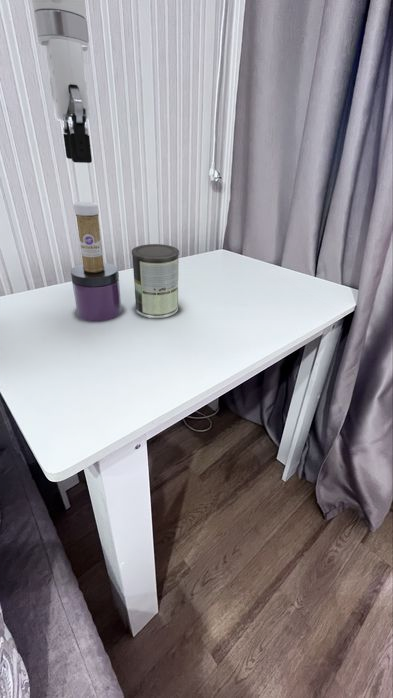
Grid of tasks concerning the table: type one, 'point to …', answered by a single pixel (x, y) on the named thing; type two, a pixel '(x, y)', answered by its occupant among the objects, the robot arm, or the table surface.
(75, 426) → the table surface
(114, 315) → the jar
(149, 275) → the coffee can
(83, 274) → the jar lid
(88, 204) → the sprinkles bottle
